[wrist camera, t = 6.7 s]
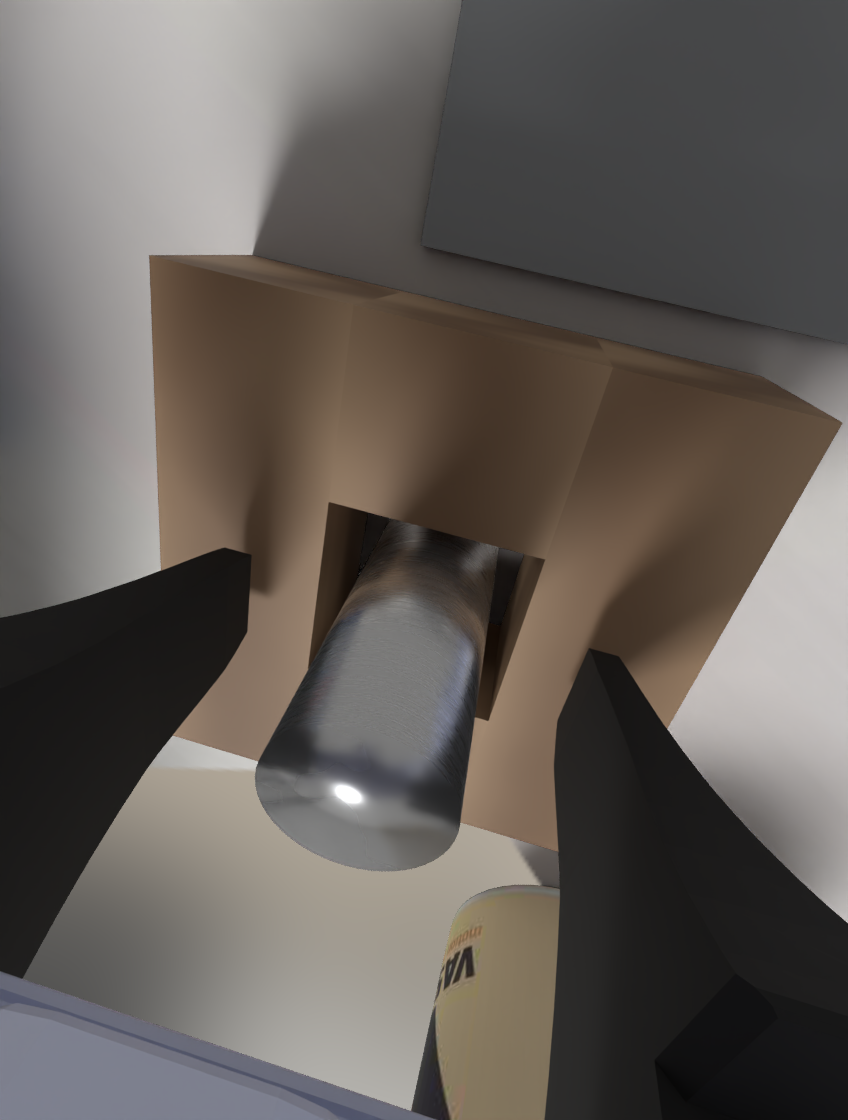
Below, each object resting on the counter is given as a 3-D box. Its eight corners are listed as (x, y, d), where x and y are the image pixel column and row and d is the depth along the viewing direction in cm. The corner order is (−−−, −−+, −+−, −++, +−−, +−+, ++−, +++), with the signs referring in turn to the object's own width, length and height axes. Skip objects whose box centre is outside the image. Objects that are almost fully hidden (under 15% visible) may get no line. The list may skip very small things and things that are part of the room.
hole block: (762, 376, 13) (842, 422, 9) (582, 748, 19) (590, 861, 15) (251, 255, 14) (149, 255, 10) (235, 647, 19) (167, 733, 16)
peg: (517, 502, 15) (492, 776, 7) (478, 591, 17) (423, 895, 9) (411, 462, 15) (274, 694, 7) (381, 555, 17) (241, 828, 9)
